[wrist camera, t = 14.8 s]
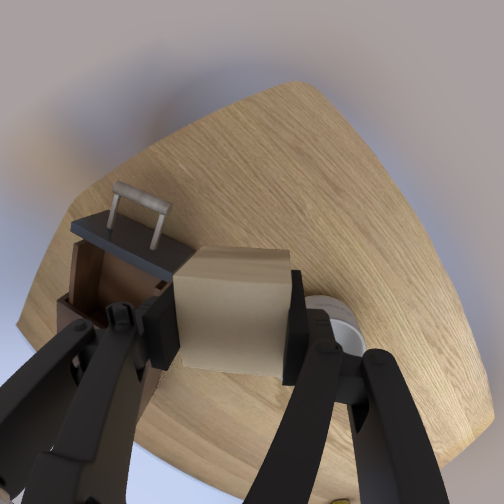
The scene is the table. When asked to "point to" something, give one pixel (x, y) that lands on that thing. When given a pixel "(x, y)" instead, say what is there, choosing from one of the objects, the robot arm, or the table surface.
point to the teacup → (340, 323)
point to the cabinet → (70, 313)
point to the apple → (341, 502)
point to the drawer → (122, 257)
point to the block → (234, 309)
